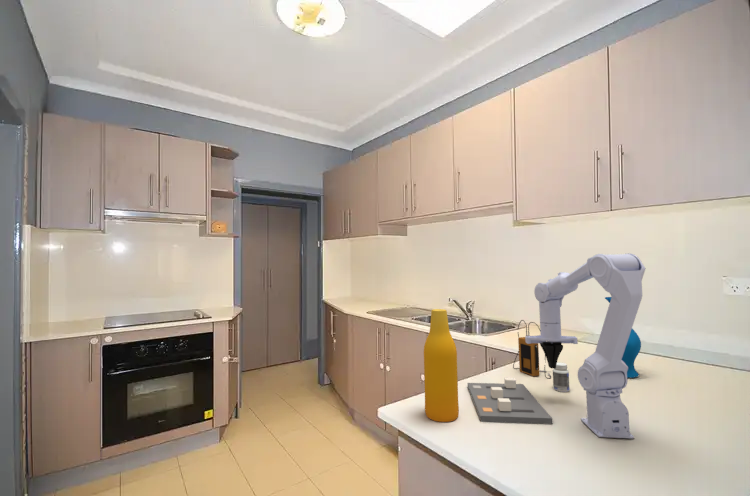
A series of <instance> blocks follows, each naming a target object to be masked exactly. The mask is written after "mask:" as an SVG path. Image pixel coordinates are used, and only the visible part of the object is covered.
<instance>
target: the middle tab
mask: <svg viewBox="0 0 750 496" xmlns="http://www.w3.org/2000/svg"><path fill="white" fill-rule="evenodd" d="M491 396H492V398H503V389H502V388H501V387H491Z"/></svg>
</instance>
